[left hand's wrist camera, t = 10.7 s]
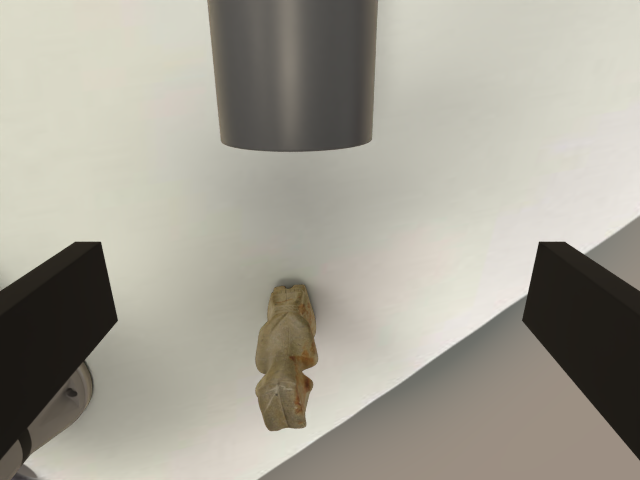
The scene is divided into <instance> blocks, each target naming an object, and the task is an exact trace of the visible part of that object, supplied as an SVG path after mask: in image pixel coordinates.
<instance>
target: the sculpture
mask: <svg viewBox="0 0 640 480" xmlns="http://www.w3.org/2000/svg"><path fill="white" fill-rule="evenodd" d="M267 319H268V322H266V324H265V325H264V326H263V327H262V328H261V329H260V332H259V336H258V344H257V350H256V358H255V361H256V366H257V369H258V370H259V371H260V372H261V373H263V374H265V376H264V377H263V378H262V379H261V380H260V382H259V383H258V384H257V386H256V390H255V391H256V395H257V397H258V402H259V407H260V410H261V413H262V416H263V419H264V423H265V425H266V427H267V428H268V430H269V431H278V430H281V429H283V428H304V427H306V419H305V411H306V406H307V402H308V398H309V394H310V391H311V390H312V388H313V382H312V380H311V379H310V378H308V377H307V376H305V375H304V374H303V373H302V371H303V370H305V369H308V368H310V367H313V366H314V365H316V364H317V362H318V354H317V349H316V345H315V342H314V336H315V333H316V321H315V316H314V312H313V309H312V307H311V304H310V301H309V297H308V294H307V290H306V287H305V285H302V284H301V285H294V286H293V287H291V288H289V289H286V287H285V286H279V287H275V288H274V291H273V293H272V294H271V296H270V300H269V304H268V312H267Z"/></svg>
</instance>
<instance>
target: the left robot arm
mask: <svg viewBox="0 0 640 480" xmlns="http://www.w3.org/2000/svg"><path fill="white" fill-rule="evenodd" d="M117 321H118V319H117V314H116V310H115V305H114V300H113V296H112V291H111V286H110V282H109V277H108V272H107V268H106V263H105V259H104V254H103V249H102V245H101V242H74V243H73V244H71V245H70V246H68V247H67V248H65V249H64V250H62V251H61V252H59V253H58V254H56V255H55V256H53V257H51V258H50V259H48V260H47V261H45V262H44V263H42V264H41V265H39V266H38V267H36V268H35V269H33V270H32V271H30V272H29V273H27V274H26V275H24V276H23V277H21V278H20V279H18V280H17V281H15V282H14V283H12V284H11V285H9V286H7V287H6V288H4V289H3V290H1V291H0V480H11V479H12V477H13V476H14V475H15V474H16V472H17V471H18V469H19V468H20V467H21V466H22V464H23V463H24V462H25V461H26V459H27V458H28V457H29V456H30V455H31V454H32V453H33V452H35V451H36V450H37V449H39V448H40V447H41V446H43V445H44V444H46V443H47V442H48V441H50V440H51V439H52V438H54V437H55V436H57V435H58V434H59V433H61V432H62V431H63V430H65V429H66V428H68V427H69V426H70V425H71V424H72V423H73V422H74V421H76V420H77V419H78V418H79V416H80V415H81V414H82V412H83V411H84V409H85V408H86V407H87V405H88V403H89V402H90V399H91V396H92V380H91V376H90V373H89V371H88V369H87V367H86V365H85V363H84V362H83V361H84V360H85V359H86V358H87V357H88V355H89V354H90V353H91V352H92V351H93V350H94V348H95V347H96V346H97V345H98V344H99V342H100V341H101V340H102V339H103V338H104V336H105V335H106V334H107V333H108V332H109V331H110V329H111V328H112V327H113V326H114V325H115V323H116V322H117ZM522 321H523V322H524V323H525V325H526V326H527V327H528V328H529V329H530V331H531V332H532V333H533V334H534V335H535V336H536V338H537V339H538V340H539V341H540V342H541V344H542V345H543V346H544V347H545V348H546V349H547V351H548V352H549V353H550V354H551V356H552V357H553V358H554V359H555V360H556V361H557V363H558V364H559V365H560V366H561V367H562V368H563V370H564V371H565V372H566V373H567V375H568V376H569V377H570V378H571V379H572V380H573V382H574V383H575V384H576V385H577V386H578V388H579V389H580V390H581V391H582V392H583V393H584V395H585V396H586V397H587V398H588V399H589V401H590V402H591V403H592V404H593V405H594V407H595V408H596V409H597V410H598V411H599V412H600V414H601V415H602V416H603V417H604V418H605V420H606V421H607V422H608V423H609V424H610V426H611V427H612V428H613V429H614V430H615V432H616V433H617V434H618V435H619V436H620V437H621V439H622V440H623V441H624V442H625V443H626V445H627V446H628V447H629V448H630V449H631V450H632V452H633V453H634V454H635V455H636V456H637V458H638V459H639V460H640V291H639V290H637V289H636V288H634V287H632V286H631V285H629V284H628V283H626V282H625V281H623V280H622V279H620V278H619V277H617V276H616V275H614V274H613V273H611V272H610V271H608V270H607V269H605V268H604V267H602V266H601V265H599V264H598V263H596V262H595V261H593V260H592V259H590V258H588V257H587V256H585V255H584V254H582V253H581V252H579V251H578V250H576V249H575V248H573V247H572V246H570V245H569V244H567V243H566V242H539V245H538V249H537V254H536V259H535V263H534V268H533V272H532V277H531V282H530V286H529V291H528V296H527V300H526V305H525V310H524V314H523V319H522Z"/></svg>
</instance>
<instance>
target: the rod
mask: <svg viewBox="0 0 640 480" xmlns="http://www.w3.org/2000/svg"><path fill="white" fill-rule="evenodd" d="M207 2H208V12H209V22H210V33H211V43H212V53H213V64H214V74H215V84H216V95H217V105H218V115H219V126H220V136H221V142H222V143H223V144H225V145H227V146H230V147H234V148H240V149H247V150H258V151H278V152H302V151H323V150H335V149H343V148H350V147H355V146H360V145H363V144H366V143H368V142H370V141H371V140H372V126H373V102H374V78H375V55H376V31H377V8H378V0H207Z"/></svg>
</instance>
